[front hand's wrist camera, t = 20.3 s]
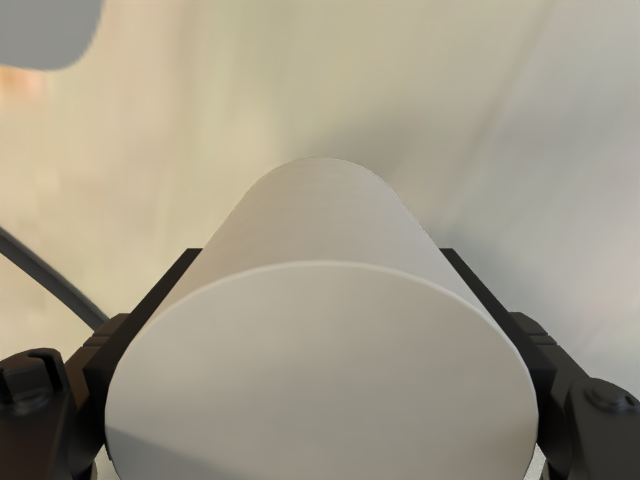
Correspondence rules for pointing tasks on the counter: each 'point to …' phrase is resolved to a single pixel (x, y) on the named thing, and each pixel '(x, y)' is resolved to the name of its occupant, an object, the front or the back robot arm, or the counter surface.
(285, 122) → the counter surface
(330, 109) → the counter surface
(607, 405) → the front robot arm
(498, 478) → the canister
